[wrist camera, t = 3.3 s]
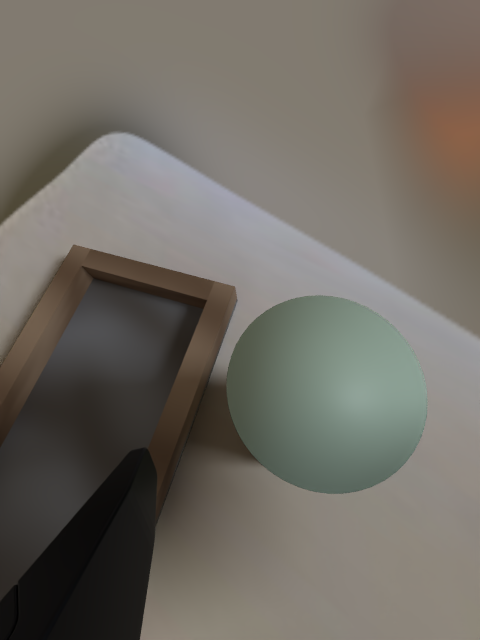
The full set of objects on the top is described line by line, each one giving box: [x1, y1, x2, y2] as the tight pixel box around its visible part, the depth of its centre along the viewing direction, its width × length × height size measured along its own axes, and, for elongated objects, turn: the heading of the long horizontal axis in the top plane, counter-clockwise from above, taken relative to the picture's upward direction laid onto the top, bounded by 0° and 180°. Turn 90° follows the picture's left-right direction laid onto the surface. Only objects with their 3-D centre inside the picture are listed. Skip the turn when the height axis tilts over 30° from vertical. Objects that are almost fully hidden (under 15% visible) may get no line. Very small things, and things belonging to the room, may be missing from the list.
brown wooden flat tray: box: [0, 245, 237, 601], centre depth 16 cm, size 20×10×2 cm, turn 162°
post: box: [227, 296, 427, 494], centre depth 12 cm, size 4×4×11 cm
